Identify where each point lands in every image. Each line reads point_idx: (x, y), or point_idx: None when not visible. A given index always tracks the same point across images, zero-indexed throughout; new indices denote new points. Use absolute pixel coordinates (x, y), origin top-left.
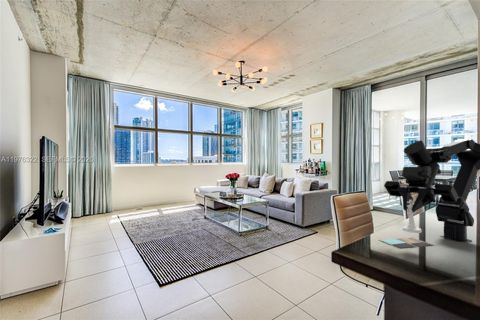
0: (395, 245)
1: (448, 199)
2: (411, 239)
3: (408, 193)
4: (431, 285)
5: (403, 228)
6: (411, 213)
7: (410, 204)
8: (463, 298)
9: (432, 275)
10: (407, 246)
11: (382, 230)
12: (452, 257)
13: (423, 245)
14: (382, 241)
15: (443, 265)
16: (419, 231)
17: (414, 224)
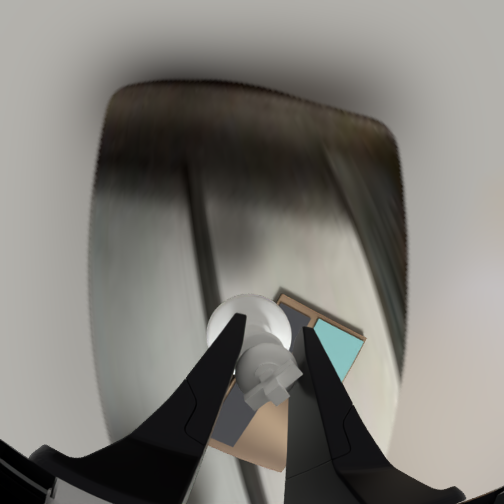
0: (301, 318)
1: (24, 472)
2: (277, 450)
3: (326, 500)
4: (167, 95)
5: (283, 313)
6: (251, 334)
7: (269, 370)
8: (123, 90)
9: (167, 147)
10: None
11: None
12: (140, 360)
13: (226, 403)
14: (350, 335)
15: (148, 251)
16: (212, 320)
17: None
